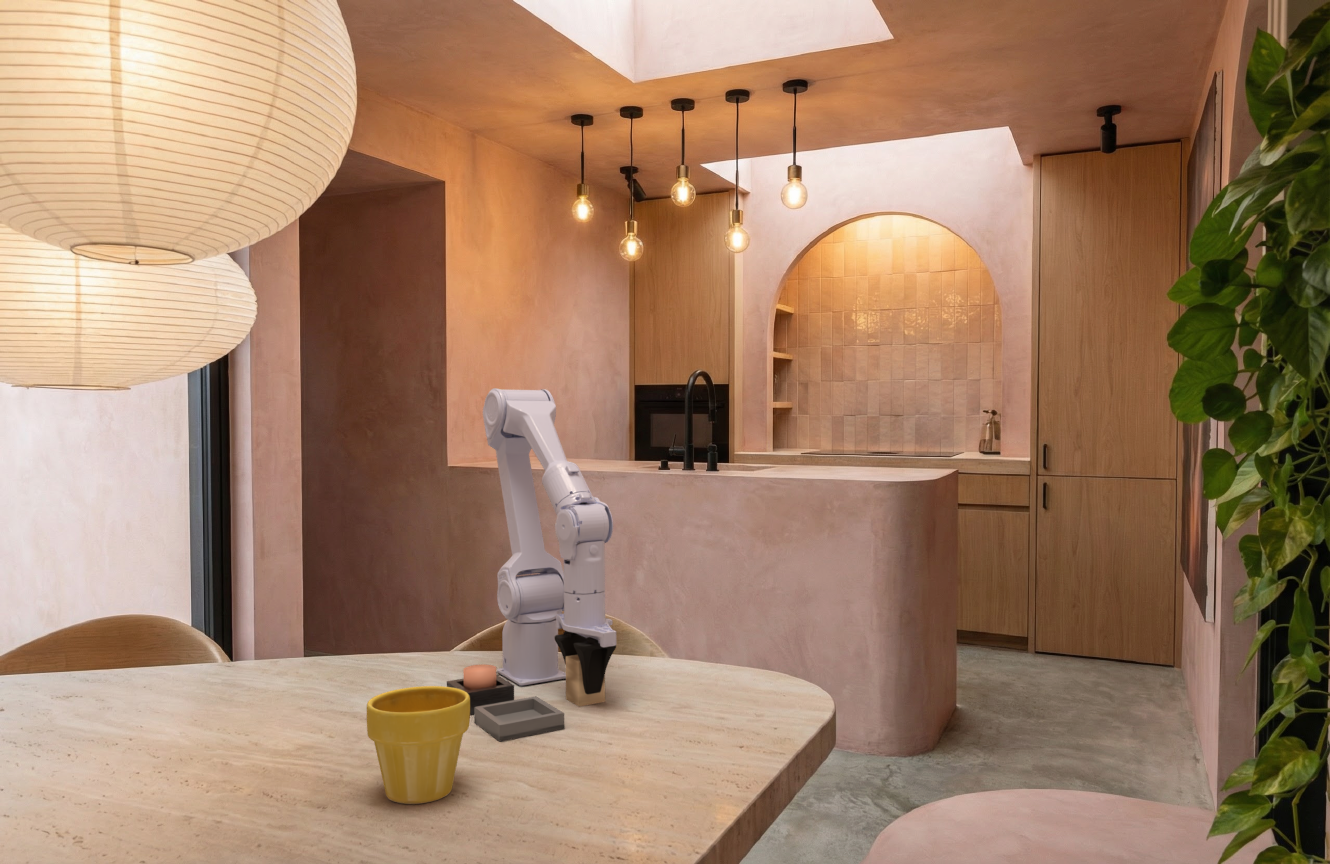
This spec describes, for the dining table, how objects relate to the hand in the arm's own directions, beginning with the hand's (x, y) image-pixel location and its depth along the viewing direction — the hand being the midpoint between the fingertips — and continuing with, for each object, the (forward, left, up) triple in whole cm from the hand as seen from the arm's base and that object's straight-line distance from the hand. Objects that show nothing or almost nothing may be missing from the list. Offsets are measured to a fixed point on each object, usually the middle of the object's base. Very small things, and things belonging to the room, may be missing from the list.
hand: (585, 688), depth 127 cm
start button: (-6, -13, 0) cm, 14 cm away
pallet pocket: (+5, -12, -2) cm, 13 cm away
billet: (0, 0, -2) cm, 2 cm away
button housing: (-6, -13, -2) cm, 14 cm away
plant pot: (+19, -29, -2) cm, 35 cm away
